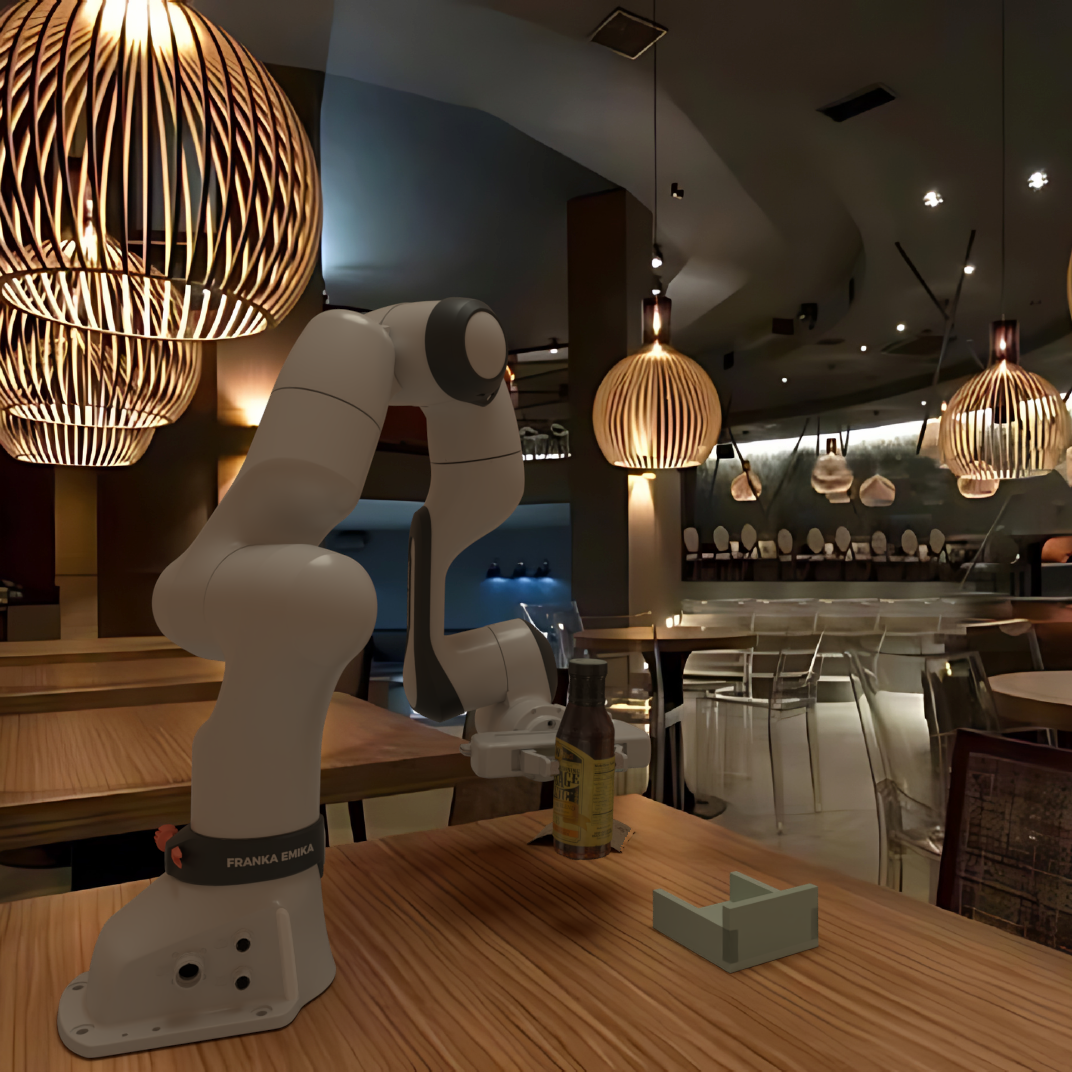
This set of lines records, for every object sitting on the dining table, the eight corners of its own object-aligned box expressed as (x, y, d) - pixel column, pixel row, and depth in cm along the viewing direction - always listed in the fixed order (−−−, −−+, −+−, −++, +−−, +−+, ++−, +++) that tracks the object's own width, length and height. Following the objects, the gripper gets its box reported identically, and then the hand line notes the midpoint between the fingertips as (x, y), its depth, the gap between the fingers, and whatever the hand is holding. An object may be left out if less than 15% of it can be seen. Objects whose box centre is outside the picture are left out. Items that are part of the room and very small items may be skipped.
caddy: (729, 973, 80) (729, 909, 80) (652, 927, 90) (652, 870, 90) (818, 946, 85) (818, 886, 86) (736, 906, 95) (736, 852, 96)
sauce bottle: (543, 846, 91) (545, 657, 92) (597, 841, 94) (599, 655, 94) (567, 867, 85) (570, 663, 86) (624, 860, 87) (626, 662, 88)
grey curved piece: (522, 849, 116) (522, 828, 116) (541, 827, 126) (541, 808, 126) (630, 859, 112) (630, 838, 112) (640, 835, 122) (641, 816, 122)
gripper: (455, 717, 98) (491, 740, 85) (619, 710, 105) (675, 730, 92) (454, 773, 98) (489, 805, 85) (618, 762, 105) (674, 790, 92)
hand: (587, 766), depth 89 cm, fingers closed on sauce bottle, 6 cm apart
